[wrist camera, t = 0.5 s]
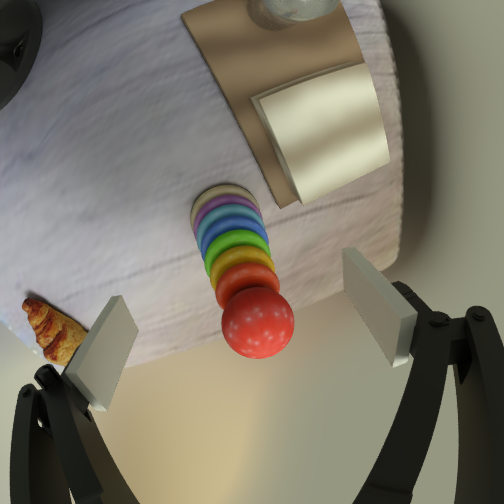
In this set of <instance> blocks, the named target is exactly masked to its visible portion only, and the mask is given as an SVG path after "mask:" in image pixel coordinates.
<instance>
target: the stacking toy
mask: <svg viewBox="0 0 504 504" xmlns="http://www.w3.org/2000/svg"><path fill="white" fill-rule="evenodd" d="M191 226H192V230H193V232H194V236H195V239H196V241H197V245H198V248H199V250H200V252H201V255H202V258H203V261H204V263H205V270H206V272H207V275H208V276H209V277H210V282H211V285H212V287H213V289H214V291H215V294H216V299H217V302H218V304H219V305H220V307H221V308H222V309H223V310H224V311H223V315H222V322H221V324H222V332H223V335H224V337H225V340H226V341H227V343H228V344H229V346H230V347H231V348H232V349H233V350H234V351H236V352H237V353H239V354H240V355H242V356H245V357H248V358H254V359H262V358H267V357H270V356H273V355H275V354H277V353H278V352H280V351H281V350H282V349H283V348H284V347H285V346H286V345H287V344H288V342H289V341H290V339H291V337H292V334H293V330H294V315H293V312H292V309H291V307H290V305H289V304H288V302H287V301H286V300H285V299H284V298H283V296H281V295H280V294H279V290H280V284H279V280H278V278H277V276H276V274H275V267H274V263H273V261H272V259H271V254H270V249H269V246H268V236H267V233H266V231H265V226H264V223H263V219H262V215H261V213H260V209H259V205H258V203H257V201H256V199H255V198H254V197H253V196H252V195H251V194H250V193H249V192H248V191H246V190H245V189H243V188H241V187H238V186H233V185H221V186H217V187H214V188H211V189H209V190H208V191H206V192H205V193H203V194H202V195H201V196H200V197H199V198H198V199H197V201H196V202H195V204H194V206H193V209H192V212H191Z"/></svg>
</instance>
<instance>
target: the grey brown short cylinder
mask: <svg viewBox="0 0 504 504" xmlns="http://www.w3.org/2000/svg"><path fill="white" fill-rule="evenodd" d="M338 3H339V0H249V1H248V4H247V12H248V15H249V17H250V19H251V20H252V21H253V22H254V23H255V24H256V25H258V26H259V27H261V28H263V29H266V30H270V31H281V30H284V29H287V28H290V27H292V26H295V25H297V24H300V23H303V22H306V21H309V20H311V19H314V18H317V17H321V16H324V15H327V14H329V13H331V12H332V11H333V10H335V8H336V7H337V5H338Z"/></svg>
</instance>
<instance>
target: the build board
mask: <svg viewBox="0 0 504 504" xmlns="http://www.w3.org/2000/svg"><path fill="white" fill-rule="evenodd" d="M248 1H249V0H215V1H212V2H209V3H207V4H204V5H201V6H199V7H196V8H194V9H192V10H189V11H187V12H185V13H182V14H181V19H182V20H183V22H184V24H185V26H186V27H187V29H188V31H189V33H190V34H191V36H192V38H193V40H194V41H195V43H196V45H197V47H198V48H199V50H200V52H201V54H202V56H203V57H204V59H205V61H206V63H207V65H208V67H209V68H210V70H211V72H212V74H213V76H214V78H215V80H216V82H217V83H218V85H219V87H220V89H221V91H222V93H223V95H224V97H225V99H226V101H227V103H228V104H229V106H230V108H231V110H232V112H233V114H234V116H235V118H236V120H237V122H238V124H239V126H240V128H241V130H242V132H243V134H244V136H245V138H246V140H247V142H248V144H249V146H250V148H251V151H252V153H253V155H254V157H255V159H256V161H257V163H258V165H259V167H260V169H261V171H262V174H263V176H264V178H265V180H266V182H267V184H268V186H269V189H270V191H271V193H272V195H273V197H274V199H275V202H276V204H277V205H278V206H279V208H280V209H282V208H284V207H285V206H287V205H289V204H291V203H293V202H295V201H297V200H299V201H300V203H301V204H302V205H303V206H304V205H306V204H308V203H310V202H312V201H314V200H316V199H318V198H320V197H322V196H324V195H326V194H328V193H330V192H331V191H333V190H335V189H337V188H339V187H341V186H343V185H345V184H347V183H349V182H351V181H353V180H355V179H357V178H359V177H361V176H363V175H365V174H367V173H369V172H371V171H373V170H375V169H377V168H379V167H381V166H383V165H385V164H387V163H389V162H390V157H389V151H388V146H387V140H386V135H385V130H384V126H383V121H382V117H381V112H380V108H379V104H378V100H377V96H376V93H375V89H374V86H373V82H372V79H371V75H370V72H369V69H368V66H367V63H365V61H364V58H363V55H362V53H361V50H360V47H359V44H358V42H357V39H356V36H355V34H354V31H353V29H352V26H351V24H350V21H349V19H348V17H347V14H346V12H345V10H344V8H343V5H342V3H341V1H340V0H339V3H338V5H337V7H336V8H335V10H333V11H332V12H331V13H329V14H327V15H324V16H321V17H317V18H314V19H311V20H309V21H306V22H303V23H300V24H297V25H295V26H292V27H290V28H287V29H284V30H281V31H270V30H266V29H263V28H261V27H259V26H258V25H256V24H255V23H254V22H253V21H252V20H251V19H250V17H249V15H248V12H247V4H248Z"/></svg>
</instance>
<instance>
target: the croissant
mask: <svg viewBox="0 0 504 504" xmlns="http://www.w3.org/2000/svg"><path fill="white" fill-rule="evenodd" d="M22 309H23V310H24V311H25V312H27V314H28V321H29V323H30V325H31V326H32V327H33V330H34V331H35V334H36V338H37V339H36V341H37V343H38V344H39V345H40V346H41V347H42V348H43V353H44V356H45V358H46V359H47V360H48V361H50V362H52V363H54V364H58V365H62V366H65V367H66V365H67V363H68V362H69V361H70V358H71V356H72V355H73V353H74V351H75V350H76V348H77V347H78V346H79V345H80V344H81V343H82V342H83V340H84V339H85V337H86V336H87V334H88V333H87V332H85V331H84V329H83V328H82V327H81V326H80V325H79V324H78V323H76V322H75V321H74V320H73V319H71V318H69V317H67V316H65V315H63V314H61V313H60V312H58V311H56V310H55V309H53V308H52V307H50V306H48V305H47V304H45V303H43V302H41V301H37V300H33V299H30V298H27V299H25V300H24V302H23V304H22Z"/></svg>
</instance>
